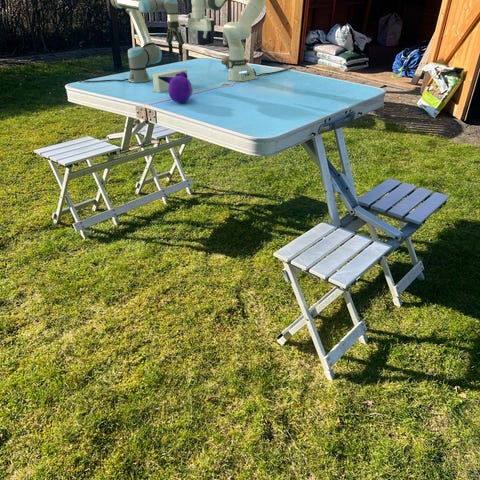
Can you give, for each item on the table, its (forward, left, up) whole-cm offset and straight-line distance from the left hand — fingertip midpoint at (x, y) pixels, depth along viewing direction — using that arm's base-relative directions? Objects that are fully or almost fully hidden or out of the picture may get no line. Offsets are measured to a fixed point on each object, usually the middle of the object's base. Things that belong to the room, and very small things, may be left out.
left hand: (176, 54), depth 321 cm
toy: (-10, -54, -20) cm, 58 cm away
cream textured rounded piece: (+53, +35, -20) cm, 66 cm away
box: (-8, -18, -20) cm, 28 cm away
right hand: (+16, -10, +11) cm, 22 cm away
